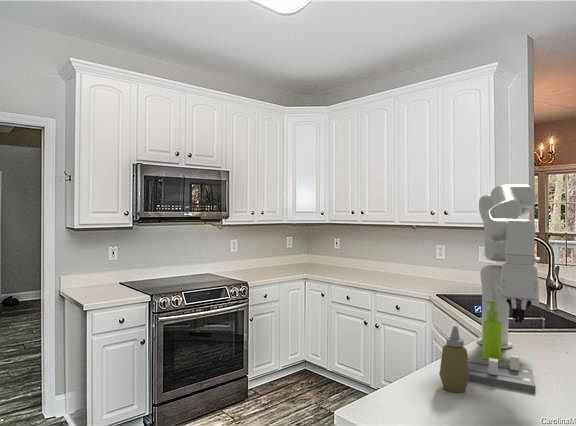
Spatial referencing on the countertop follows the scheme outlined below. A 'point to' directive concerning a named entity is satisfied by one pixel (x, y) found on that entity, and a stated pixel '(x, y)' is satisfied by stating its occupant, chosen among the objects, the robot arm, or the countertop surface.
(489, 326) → the soap dispenser
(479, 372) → the slider switch panel
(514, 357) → the block
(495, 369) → the block
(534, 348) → the countertop surface
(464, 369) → the squeeze bottle
